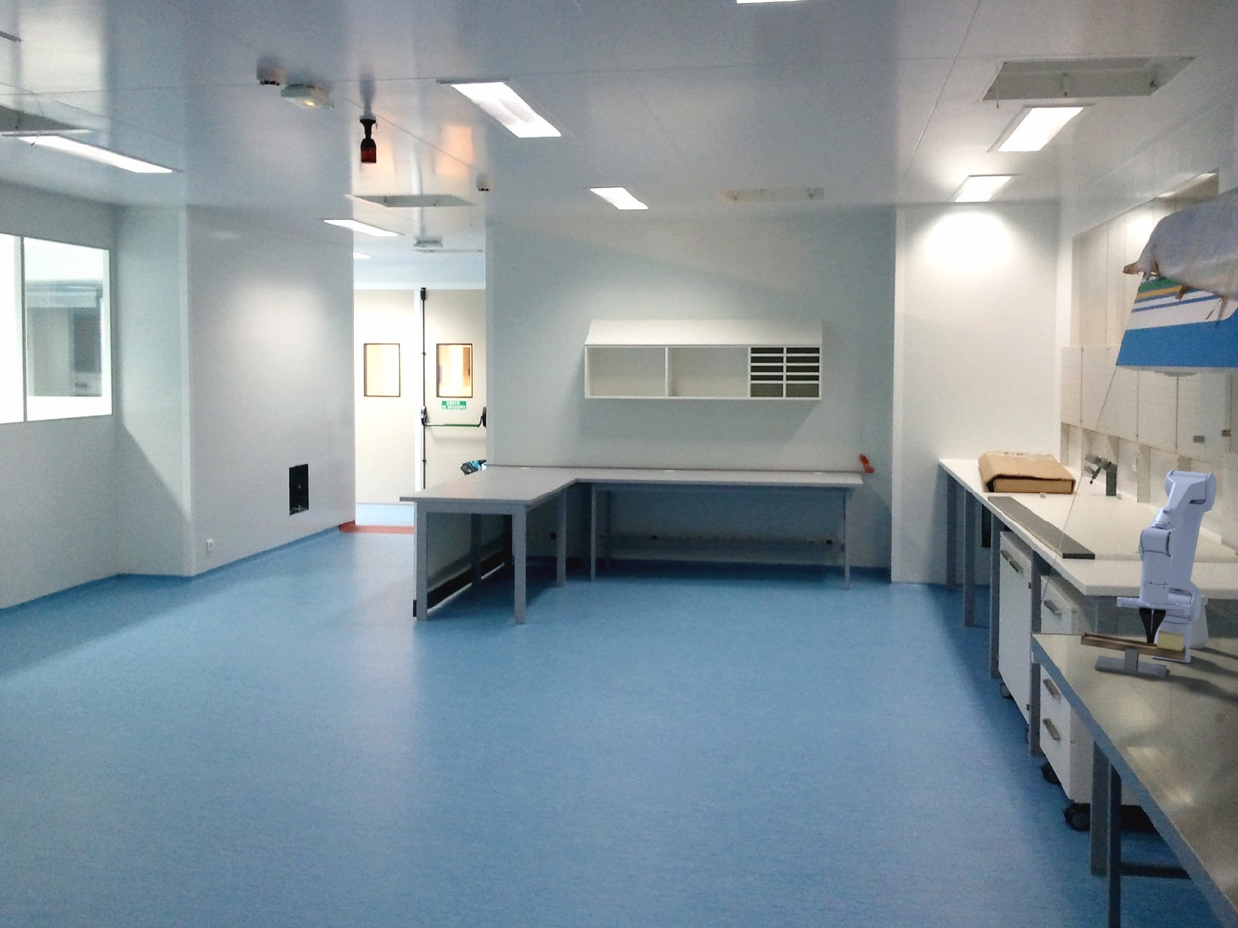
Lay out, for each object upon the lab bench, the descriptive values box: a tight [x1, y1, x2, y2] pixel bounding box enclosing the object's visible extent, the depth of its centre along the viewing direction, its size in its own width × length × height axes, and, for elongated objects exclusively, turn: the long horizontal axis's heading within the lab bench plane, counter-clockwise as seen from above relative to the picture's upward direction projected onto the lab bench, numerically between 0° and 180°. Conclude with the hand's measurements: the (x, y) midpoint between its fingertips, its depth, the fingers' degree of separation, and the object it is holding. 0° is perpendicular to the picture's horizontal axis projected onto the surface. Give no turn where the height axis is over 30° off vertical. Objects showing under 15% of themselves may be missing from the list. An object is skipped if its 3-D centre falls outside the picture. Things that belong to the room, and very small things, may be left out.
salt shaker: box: [1189, 594, 1210, 650], centre depth 263 cm, size 6×6×13 cm
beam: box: [1079, 630, 1186, 661], centre depth 241 cm, size 21×7×3 cm, turn 61°
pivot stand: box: [1094, 648, 1168, 680], centre depth 241 cm, size 10×14×5 cm
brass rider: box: [1157, 630, 1184, 653], centre depth 237 cm, size 4×5×4 cm
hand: (1150, 642), depth 239 cm, fingers closed
